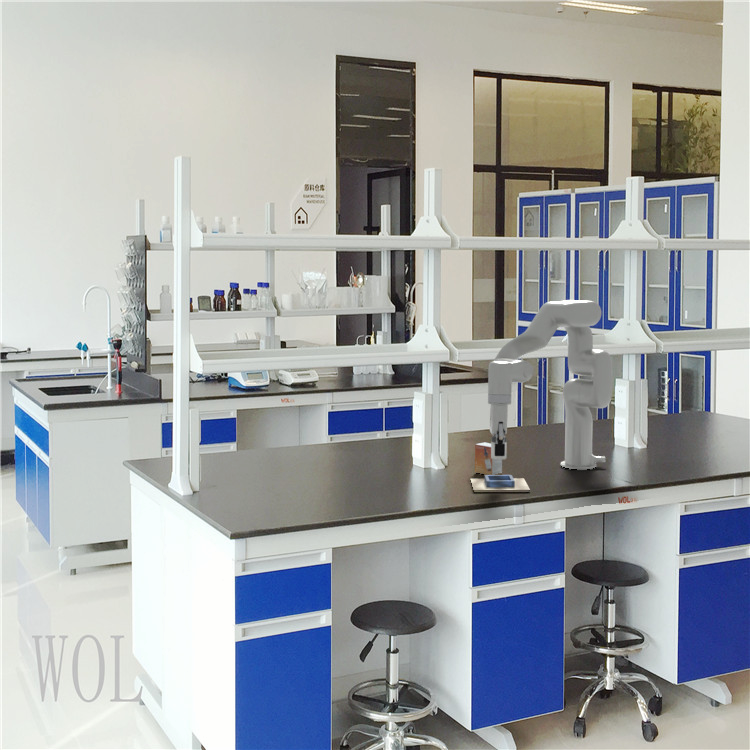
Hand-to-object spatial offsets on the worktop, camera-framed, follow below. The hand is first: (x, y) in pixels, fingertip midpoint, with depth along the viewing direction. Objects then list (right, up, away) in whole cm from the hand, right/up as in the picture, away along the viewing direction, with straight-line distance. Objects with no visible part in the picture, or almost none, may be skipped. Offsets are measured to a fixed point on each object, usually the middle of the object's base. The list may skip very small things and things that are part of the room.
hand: (498, 453), depth 322 cm
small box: (-1, -9, +21) cm, 22 cm away
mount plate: (0, -11, +2) cm, 11 cm away
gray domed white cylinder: (0, -1, 0) cm, 1 cm away
